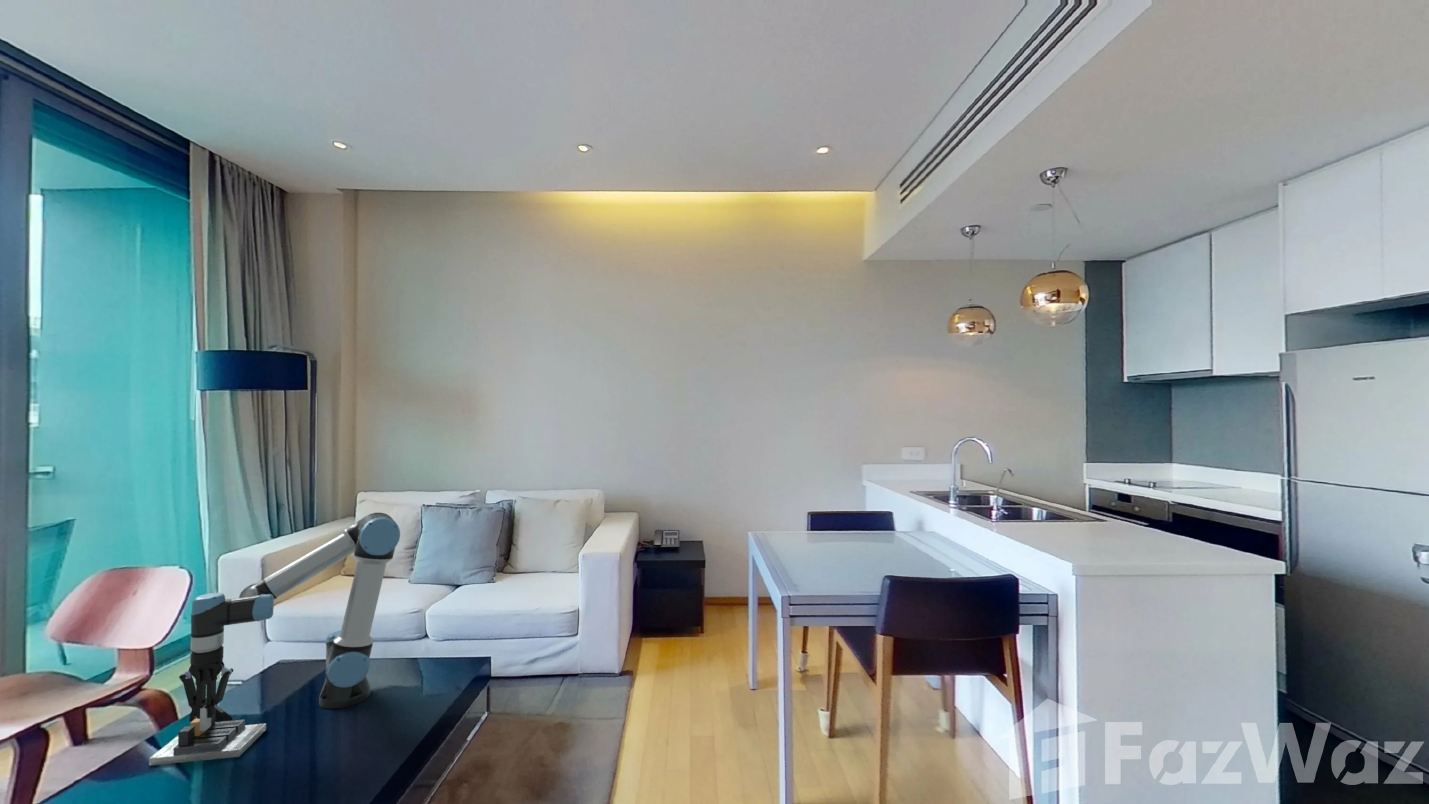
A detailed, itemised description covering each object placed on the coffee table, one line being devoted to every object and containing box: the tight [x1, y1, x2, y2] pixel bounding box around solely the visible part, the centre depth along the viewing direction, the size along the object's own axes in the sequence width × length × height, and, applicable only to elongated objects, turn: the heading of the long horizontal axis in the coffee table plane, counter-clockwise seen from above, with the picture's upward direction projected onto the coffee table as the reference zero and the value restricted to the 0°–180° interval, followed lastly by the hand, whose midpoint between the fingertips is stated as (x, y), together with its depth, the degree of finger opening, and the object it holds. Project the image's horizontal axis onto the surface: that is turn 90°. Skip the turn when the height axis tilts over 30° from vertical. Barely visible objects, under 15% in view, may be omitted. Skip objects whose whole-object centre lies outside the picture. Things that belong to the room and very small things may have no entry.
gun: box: [188, 704, 234, 724], centre depth 190 cm, size 3×16×10 cm, turn 79°
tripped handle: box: [189, 717, 205, 736], centre depth 178 cm, size 2×3×4 cm
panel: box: [148, 714, 267, 766], centre depth 179 cm, size 22×15×8 cm
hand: (205, 728), depth 179 cm, fingers closed
